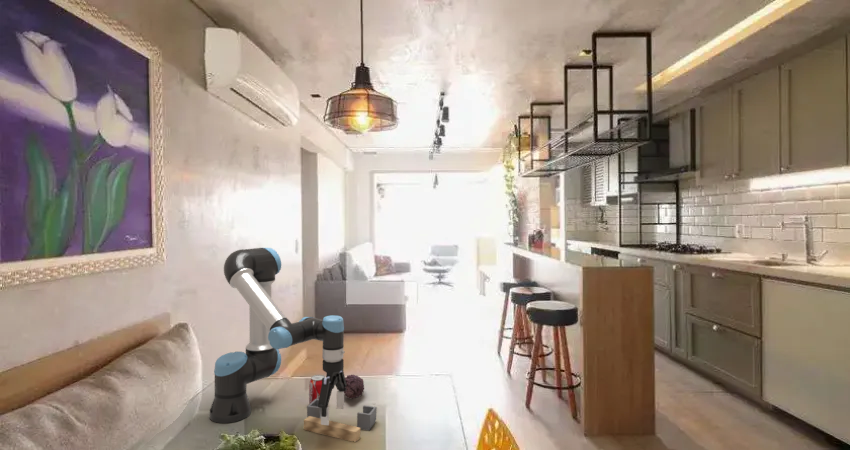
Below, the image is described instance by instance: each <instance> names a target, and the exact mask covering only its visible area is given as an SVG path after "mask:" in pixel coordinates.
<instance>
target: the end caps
mask: <svg viewBox="0 0 850 450" xmlns="http://www.w3.org/2000/svg"><path fill="white" fill-rule="evenodd" d="M318 402H319V399H315V400H314V401H313V402H311V403H310V404H308V405H307V407H306V418H307V417H309V416H312V417H316V418H320V419H321V408H319V407H318ZM356 415H357V416H356V427H359V428H361V430H364V431H370V430H371V429H372V427H373V426H374V425H375V423H376V420H377V406H373V405H362V412H360V411H359V412H357V414H356Z"/></svg>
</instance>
